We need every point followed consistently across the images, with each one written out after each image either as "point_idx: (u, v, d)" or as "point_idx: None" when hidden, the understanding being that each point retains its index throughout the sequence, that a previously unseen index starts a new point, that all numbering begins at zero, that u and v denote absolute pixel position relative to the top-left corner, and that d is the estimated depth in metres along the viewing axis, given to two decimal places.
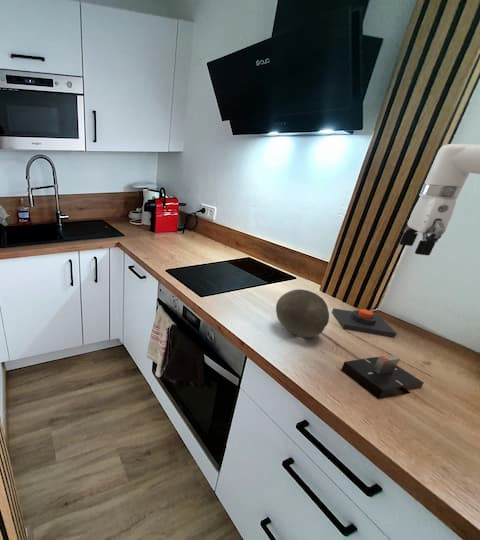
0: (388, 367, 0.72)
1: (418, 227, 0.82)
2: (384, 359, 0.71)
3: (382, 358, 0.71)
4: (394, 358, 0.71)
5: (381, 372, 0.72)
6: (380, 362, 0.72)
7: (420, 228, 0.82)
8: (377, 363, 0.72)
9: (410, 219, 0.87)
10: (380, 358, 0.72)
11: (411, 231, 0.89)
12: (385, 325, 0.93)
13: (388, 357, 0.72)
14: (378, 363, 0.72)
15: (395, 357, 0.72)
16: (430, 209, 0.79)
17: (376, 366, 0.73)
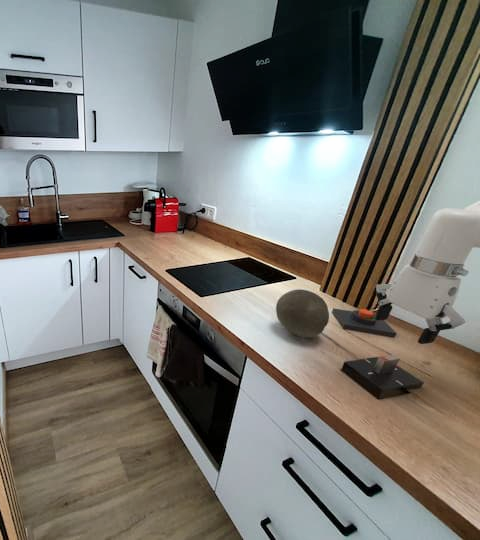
0: (388, 367, 0.72)
1: (418, 311, 0.64)
2: (384, 359, 0.71)
3: (382, 358, 0.71)
4: (394, 358, 0.71)
5: (381, 372, 0.72)
6: (380, 362, 0.72)
7: (423, 313, 0.63)
8: (377, 363, 0.72)
9: (393, 294, 0.69)
10: (380, 358, 0.72)
11: (387, 304, 0.72)
12: (385, 325, 0.93)
13: (388, 357, 0.72)
14: (378, 363, 0.72)
15: (395, 357, 0.72)
16: (439, 292, 0.60)
17: (376, 366, 0.73)
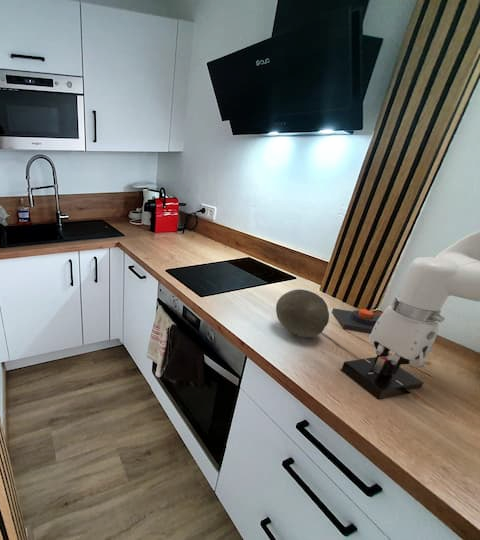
0: None
1: (399, 351, 0.68)
2: (384, 359, 0.71)
3: (382, 358, 0.71)
4: None
5: (381, 372, 0.72)
6: (380, 362, 0.72)
7: (404, 354, 0.67)
8: (377, 363, 0.72)
9: (377, 333, 0.72)
10: (380, 358, 0.72)
11: (385, 354, 0.73)
12: None
13: (388, 357, 0.72)
14: (378, 363, 0.72)
15: None
16: (418, 336, 0.64)
17: (376, 366, 0.73)
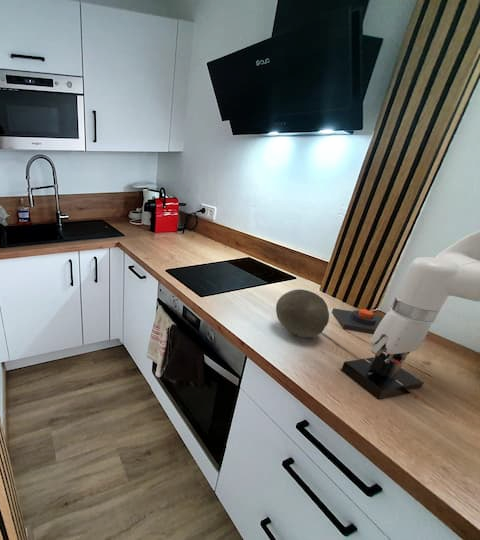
0: None
1: (413, 349, 0.69)
2: (400, 363, 0.70)
3: (399, 363, 0.70)
4: None
5: None
6: (398, 367, 0.70)
7: (416, 348, 0.69)
8: (396, 370, 0.70)
9: (397, 347, 0.67)
10: (399, 365, 0.69)
11: None
12: None
13: None
14: (397, 369, 0.70)
15: None
16: (428, 328, 0.67)
17: (395, 373, 0.70)
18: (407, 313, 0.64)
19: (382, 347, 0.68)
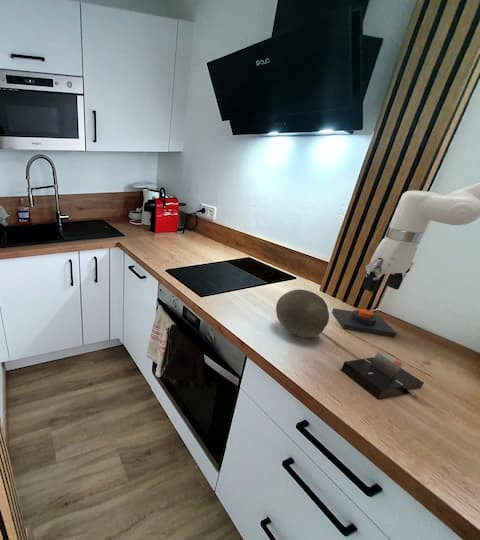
0: None
1: (403, 270, 0.84)
2: (400, 363, 0.70)
3: (399, 363, 0.70)
4: (387, 355, 0.73)
5: None
6: (398, 367, 0.70)
7: (405, 269, 0.84)
8: (396, 370, 0.70)
9: (390, 267, 0.82)
10: (399, 365, 0.69)
11: None
12: (385, 325, 0.93)
13: (390, 358, 0.71)
14: (397, 369, 0.70)
15: (383, 353, 0.73)
16: (415, 251, 0.82)
17: (395, 373, 0.70)
18: (398, 237, 0.80)
19: (380, 262, 0.83)
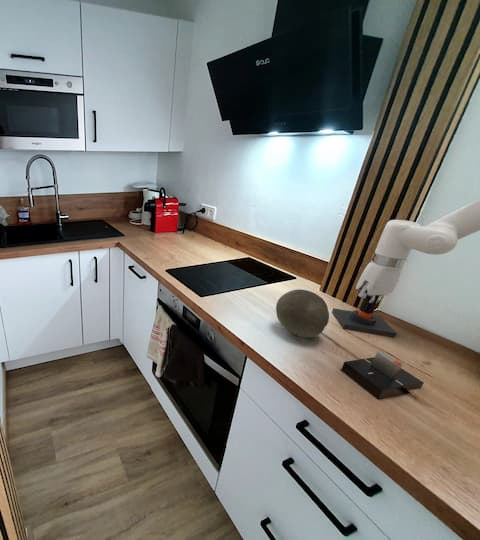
0: None
1: (387, 292, 0.90)
2: (400, 363, 0.70)
3: (399, 363, 0.70)
4: (387, 355, 0.73)
5: None
6: (398, 367, 0.70)
7: (390, 291, 0.90)
8: (396, 370, 0.70)
9: (375, 289, 0.89)
10: (399, 365, 0.69)
11: None
12: (385, 325, 0.93)
13: (390, 358, 0.71)
14: (397, 369, 0.70)
15: (383, 353, 0.73)
16: (399, 275, 0.88)
17: (395, 373, 0.70)
18: (382, 262, 0.86)
19: (364, 292, 0.90)
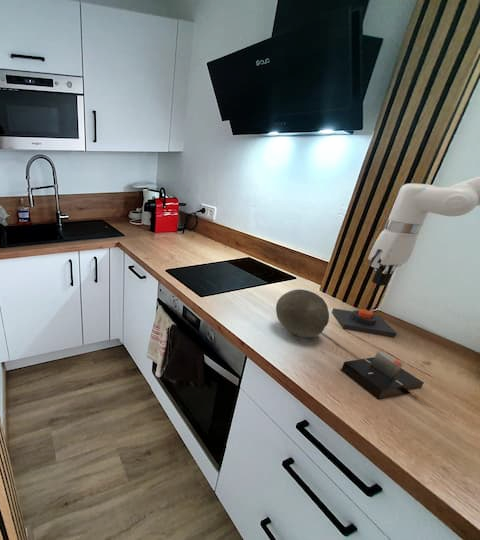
0: None
1: (402, 261, 0.86)
2: (400, 363, 0.70)
3: (399, 363, 0.70)
4: (387, 355, 0.73)
5: None
6: (398, 367, 0.70)
7: (404, 261, 0.86)
8: (396, 370, 0.70)
9: (389, 258, 0.84)
10: (399, 365, 0.69)
11: None
12: (385, 325, 0.93)
13: (390, 358, 0.71)
14: (397, 369, 0.70)
15: (383, 353, 0.73)
16: (414, 243, 0.84)
17: (395, 373, 0.70)
18: (397, 228, 0.82)
19: (378, 262, 0.86)
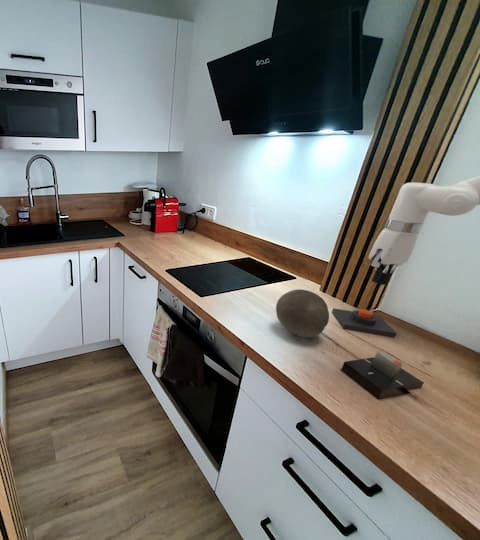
0: None
1: (402, 260, 0.86)
2: (400, 363, 0.70)
3: (399, 363, 0.70)
4: (387, 355, 0.73)
5: None
6: (398, 367, 0.70)
7: (404, 260, 0.86)
8: (396, 370, 0.70)
9: (389, 257, 0.84)
10: (399, 365, 0.69)
11: None
12: (385, 325, 0.93)
13: (390, 358, 0.71)
14: (397, 369, 0.70)
15: (383, 353, 0.73)
16: (414, 242, 0.84)
17: (395, 373, 0.70)
18: (397, 228, 0.82)
19: (378, 261, 0.86)
